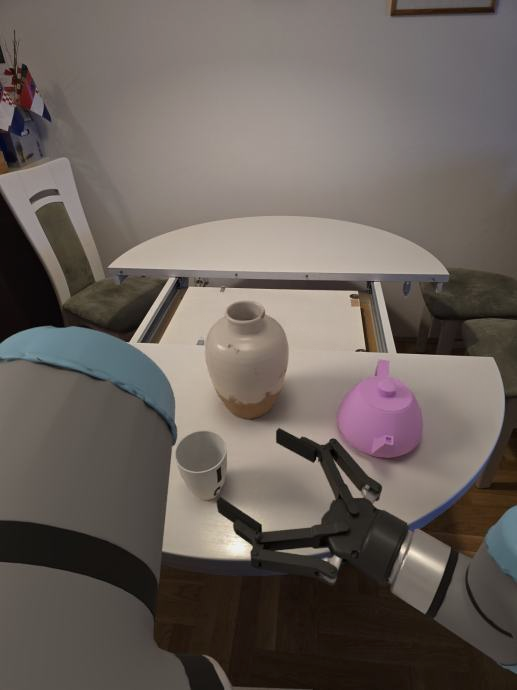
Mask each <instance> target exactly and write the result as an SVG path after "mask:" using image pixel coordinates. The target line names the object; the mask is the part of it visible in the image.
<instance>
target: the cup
mask: <svg viewBox="0 0 517 690" xmlns="http://www.w3.org/2000/svg"><path fill="white" fill-rule="evenodd" d="M227 448H228V447H227V442H226V441H225V439H224V438H223V437H222V435H220V434H219V433H217V432H215V431H213V430H207V429H201V430H200V429H199V430H195V431H192V432H190V433H188V434H186V435H184V437H182V438H181V439H180V440H179V441H178V443H177V444H176V446H175V449H174V453H173V455H174V460H175V463H176V465H177V469H178V471H179V474H180V477H181V479H182V480H183V482H184V484H185V486H186V487H187V489H188V491H190V492H191V493H192V494H193V496H194V497H196V498H197V499H198V500H201V501H211V500H213V499H215V498H217V497H218V496H219V494H220V493H221V492H222V489H223V487H224V484H225V482H226V477H227V469H228V450H227Z"/></svg>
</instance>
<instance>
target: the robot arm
mask: <svg viewBox="0 0 517 690" xmlns="http://www.w3.org/2000/svg"><path fill="white" fill-rule="evenodd" d="M177 440H178V426H177V424H176V398H175V393H174V391H173V388H172V385H171V383H170V381H169V379H168V377H167V375H166V373H164V371H163V370H162V368H161V367H160V366H159V365H158V364H157V363H156V362H155V360H153V359H152V358H151V357H149V356H148V355H147V354H146V353H145V352H143V351H142V350H140V349H139V348H137V347H136V346H133V345H132V344H130V343H128V342H127V341H124V340H123V339H121V338H118V337H115V336H114V335H111V334H108V333H105V332H103V331H100V330H95V329H92V328H87V327H82V326H75V325H71V326H68V327H56V326H53V325H44V326H38V327H32V328H28V329H25V330H22V331H19V332H17V333H15V334H12V335H11V336H9V337H7V338H6V339H4V340H3V341H2V342H0V690H312V689H310V688H309V689H308V688H307V689H305V688H283V687H282V688H281V687H280V688H279V687H278V688H277V687H252V686H251V687H250V686H233V685H232V683H231V681H230V679H229V678H228V676H227V674H226V672H225V671H224V669H223V668H222V667H221V665H220V664H219V662H218V661H217V660H216V659H214V658H213V657H212V656H209V655H207V654H196V653H179V652H170V651H168V650H165V649H162V648H160V647H159V646H158V643H157V642H156V640H155V636H154V633H155V631H154V629H155V625H156V615H157V605H158V595H159V591H160V587H159V586H160V578H161V569H162V568H161V567H162V566H161V565H162V555H163V547H164V536H165V525H166V516H167V515H166V514H167V505H168V493H169V485H170V484H169V483H170V473H171V464H172V463H171V462H172V453H173V447H174V446H175V445H176V443H177ZM275 443H276V444H278V445H280V446H282V447H283V448H285V449H287V450H288V451H290V452H293V453H294V454H296V455H298V456H300V457H302V458H303V459H305V460H306V461H309V462H311V463H312V464H315V462H316V460H317V463H319V464H320V466H321V468H322V471H323V473H324V475H325V477H326V480H327V482H328V484H329V487H330V489H331V491H332V493H333V496H334V499H333V500H332V501H331V503H330V505H329V509H328V510H327V511H326V512H325V513H324V514H323V515H322V517H321V520H320V524H314V525H311V526H310V527H302V528H301V527H300V528H290V529H280V530H270V531H269V530H268V531H263V524H262V523H260V522H259V521H258V520H255V519H254V518H253V517H252V516H250V515H248V514H247V513H245V512H244V511H242V510H241V509H239V508H238V507H237V506H235V505H233V504H232V503H231V502H230V501H228V500H226V499H224V498H223V497H222V496H219V497H218V498H217V499H216V500H215V501H216V507H217V513H218V514H220V515H221V516H223V517H224V518H226V519H227V520H229V522H231V523H233V524H232V529H233V531H234V533H235V535H237V536H238V537H239V538H240V539H242V540H243V541H245V542H246V543H247V544H249V545H250V546H252V549H251V550H250V552H249V553H250V564H251V567H252V568H253V569H255V570H257V569H258V570H263V571H270V572H274V573H275V572H276V573H283V574H288V575H296V576H302V577H309V578H315V579H316V580H318V581H320V582H322V583H324V584H326V585H328V586H329V587H333V586H336V583H337V579H338V575H339V570H340V567H341V565H342V564H347V565H349V566H351V567H352V568H353V569H354V570H356V571H357V572H359V573H360V574H362V575H363V576H365V577H367V578H368V579H370V580H371V581H372V582H374V583H376V584H377V585H378V586H385V585H386V583H387V584H388V585H389V586H390V588H389V590H390V593H391V594H393V595H394V596H395V597H397V598H399V599H401V600H402V601H403V602H405V603H406V604H408V605H410V606H412V607H413V608H415V609H416V610H418V611H420V612H421V613H422V614H423V615H425V616H426V617H428V618H430V619H432V620H433V621H435V622H437V623H438V624H439V625H441V626H443V627H444V628H446V629H447V630H448V631H450V632H452V633H453V634H455V635H456V636H458V637H459V638H461V639H462V640H463V641H465V642H466V643H468V644H469V645H471V646H472V647H474V648H476V649H477V650H478V651H480V652H481V653H483V654H484V655H486V656H487V657H489V658H490V659H492V661H494V663H495V664H497V665H499V666H500V667H502V668H503V669H507V670H508V671H511V672H513V673H514V674H516V675H517V504H515V505H514V506H512V507H510V508H508V509H507V510H506V511H505V512H504V513H503V515H501V517H500V518H499V519H498V521H497V522H496V523H495V524H494V525H491V527H490V528H489V529H488V530H487V533H486V534H485V537H484V539H483V541H482V542H481V544H480V545H479V548H478V549H477V551H476V553H475V554H474V556H473V557H472V558H471V557H470V556H467V555H465V554H464V553H462V552H460V551H458V550H456V549H455V548H453V547H451V546H450V545H448V544H446V543H444V542H443V541H441V540H439V539H437V538H435V537H434V536H432V535H430V534H428V533H427V532H425V531H423V530H421V529H419V528H414V530H413V531H412V530H410V529H409V528H410V525H408V522H407V521H405V520H403V519H402V518H399V517H397V516H396V515H394V514H392V513H391V512H389V511H388V510H387V511H386V510H385V509H379V508H377V507H376V506H375V505H374V504H375V502H378V501H380V498H381V494H382V491H383V485H382V484H381V483H380V482H378V481H377V480H375V479H373V478H372V477H370V475H368V474H367V473H366V472H365V470H363V468H362V467H361V466H360V465H359V463H357V461H356V460H355V459H354V458H353V457H352V456H351V454H350V453H349V452H348V451H347V450H346V448H345V447H344V446H343V445H342V444H341V442H339V440H338V439H336V438H333V437H332V438H330V439H329V441H328V442H327V443H325V444H320V443H318V442H316V441H314V440H312V439H310V438H308V437H306V436H301V437H298V436H296V435H294V434H292V433H290V432H288V431H286V430H284V429H283V428H280V427H278V428H277V429H276V431H275ZM338 467H339V469H341V471H342V472H343V473H344V475H345V476H346V477H347V478H348V479H349V480H350V482H351V483H352V484H353V485H354V487H355V488H356V489H357V490H358V491H359V492H360V494H361V496H362V497H353V494H352V492H351V490H350V488H349V486H348V484H346V483H345V481H344V479H343V476H342V475H341V472H340V470H339V469H338ZM309 548H312V549H315V550H318V549H327V548H328V551H329V553H330V555H331V557H328V556H326V557H325V556H324V557H322V558H320V557H317V556H312V555H305V554H298V553H293V552H292V553H291V552H286V551H288V550H289V551H290V550H297V549H309ZM284 551H285V552H284Z"/></svg>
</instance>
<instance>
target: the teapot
mask: <svg viewBox="0 0 517 690" xmlns="http://www.w3.org/2000/svg"><path fill="white" fill-rule="evenodd" d="M421 409H422V408H421V407H420V404H419V402H418V400H417V398H416V396H415V394H414V393H413V392H412V390H411V389H410V388H409V387H408V386H407V385H406V383H404V382H403V381H401V380H399V379H397V378H395V377H392V376H390V360H387V359H386V360H385V359H380V358H379V359H378V360H377V363H376V366H375V370H374V375H373V376H369V377H367V378H365V379H362V380H361V381H360V382H358V383H357V384H356V385H354V386H352V388H351V389H349V390H348V391H347V393H346V394H345V395H344V397H343V398H342V400H341V402H340V404H339V407H338V410H337V416H336V423H337V426H338V429H339V431H340V433H341V435H342V437H343V438H344V440H346V441H347V443H348V444H350V445H351V446H352V447H354V448H355V449H357V450H358V451H360V452H362V453H364V454H366V455H369V456H372V457H378V458H387V459H388V458H389V459H391V458H395V457H397V458H398V457H401V456H403V455H406V454H408V453H410V452H411V451H413V450H414V449H415V448H416V447H417V445H419V443H420V441H421V438H422V435H423V429H424V420H423V414H422V410H421Z"/></svg>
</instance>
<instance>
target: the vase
mask: <svg viewBox="0 0 517 690" xmlns="http://www.w3.org/2000/svg"><path fill="white" fill-rule="evenodd" d="M289 348H290V347H289V342H288V337H287V335H286V332H285V330H284V327H283V326H282V325H281V323H280V322H278V320H276V319H275V318H273V317H272V316H270V315H268V314H266V310H265V308H264V306H263V304H261V303H260V302H256V301H253V300H238V301H235V302H233V303H231V304H229V305H228V306H227V307H225V311H224V316H223V317H221V318H219V319H218V320H217V321H215V322H214V323H213V325H212V326H211V327H210V329H209V331H208V332H207V335H206V338H205V344H204V358H205V364H206V368H207V369H206V370H207V372H208V376H209V378H210V380H211V383H212V386H213V388H214V390H215V392H216V395H217V396H218V398H219V399H220V401H221V402H222V404H223V405H224V407H225V408H226V409H227V410H228V411H229V412H230V413H231V414H232V415H234V416H235V417H237V418H240V419H245V420H250V419H251V420H253V419H258V418H260V417H262V416H264V415H266V414H267V413H268V412H269V411H270V410H271V409H272V407H273V406H274V404H275V403H276V400H277V398H278V397H279V395H280V393H281V390H282V388H283V386H284V382H285V379H286V375H287V370H288V365H289V358H290V357H289V356H290V349H289Z"/></svg>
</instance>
